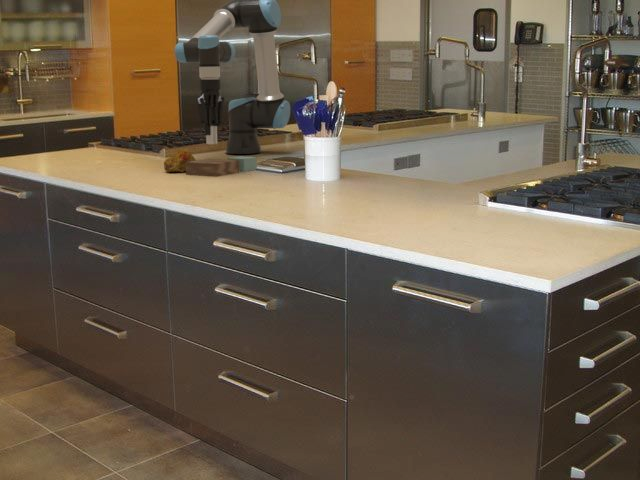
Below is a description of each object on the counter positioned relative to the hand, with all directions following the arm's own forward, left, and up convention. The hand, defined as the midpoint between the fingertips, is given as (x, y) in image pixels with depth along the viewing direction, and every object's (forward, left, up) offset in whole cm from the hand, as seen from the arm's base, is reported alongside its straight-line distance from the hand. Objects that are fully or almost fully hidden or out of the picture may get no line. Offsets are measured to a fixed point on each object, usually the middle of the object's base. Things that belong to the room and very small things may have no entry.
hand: (211, 143), depth 327 cm
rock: (-2, -13, -11) cm, 17 cm away
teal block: (-14, +2, -11) cm, 18 cm away
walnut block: (0, 0, -11) cm, 11 cm away
